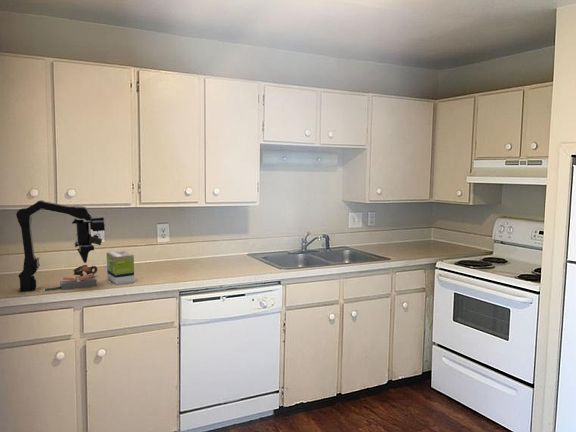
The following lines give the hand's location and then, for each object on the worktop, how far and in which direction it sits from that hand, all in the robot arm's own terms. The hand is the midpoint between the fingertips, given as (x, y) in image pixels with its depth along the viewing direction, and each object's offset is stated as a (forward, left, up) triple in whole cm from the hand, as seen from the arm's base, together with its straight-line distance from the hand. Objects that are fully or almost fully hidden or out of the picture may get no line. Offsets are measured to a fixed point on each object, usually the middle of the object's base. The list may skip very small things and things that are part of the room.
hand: (85, 262), depth 236 cm
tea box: (+18, +2, -12) cm, 21 cm away
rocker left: (-7, 0, -8) cm, 11 cm away
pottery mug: (+3, +18, -12) cm, 22 cm away
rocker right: (+1, 0, -8) cm, 8 cm away
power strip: (-7, 0, -12) cm, 14 cm away
